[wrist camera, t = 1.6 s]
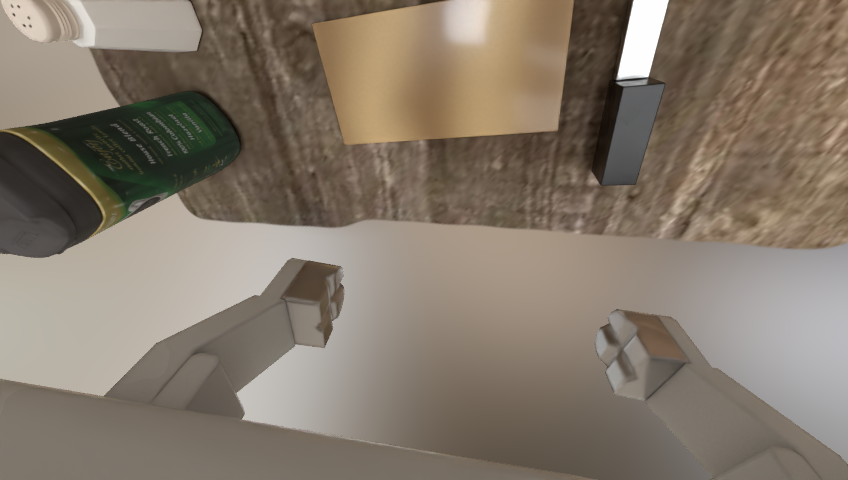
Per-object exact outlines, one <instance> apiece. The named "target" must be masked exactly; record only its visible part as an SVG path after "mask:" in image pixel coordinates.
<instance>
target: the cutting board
mask: <svg viewBox="0 0 848 480" xmlns="http://www.w3.org/2000/svg"><path fill="white" fill-rule="evenodd" d="M573 6H574V0H444V1H438V2H433V3H427V4H421V5H416V6H410V7H404V8H398V9H393V10H387V11H381V12H376V13H370V14H364V15H358V16H353V17H347V18H341V19H336V20H330V21H324V22H319V23H313V24H312V27H313V30H314V34H315V38H316V41H317V45H318V49H319V52H320V56H321V60H322V64H323V67H324V71H325V75H326V78H327V82H328V86H329V89H330V93H331V97H332V100H333V104H334V108H335V111H336V115H337V119H338V122H339V126H340V130H341V133H342V137H343V141H344V144H345V145H350V144H365V143H381V142H396V141H411V140H426V139H441V138H457V137H472V136H487V135H502V134H518V133H533V132H548V131H558V125H559V117H560V109H561V101H562V93H563V85H564V77H565V69H566V61H567V53H568V45H569V37H570V29H571V21H572V14H573Z"/></svg>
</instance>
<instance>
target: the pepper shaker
mask: <svg viewBox="0 0 848 480" xmlns="http://www.w3.org/2000/svg"><path fill="white" fill-rule="evenodd" d="M1 3H2V6H3V8H4V10H5V12H6V14H7V15H8V17H9V18H10V20H11V21H12V23H13V24H14V25H15V26H16V27H17V28H18V29H19V30H20V31H21V32H22V33H23V34H25V35H26V36H27V37H29V38H31V39H33V40H35V41H36V42H40V43H50V42H52V41H68V40H71V41H73V42H74V43H75V44H77V45H78V46H79V47H85V48H99V49H121V50H143V51H165V52H188V51H197V48H198V44H199V41H200V37H201V33H202V29H201V26H200V24H199V21H198V19H197V16H196V14H195V11H194V9H193V6H192V4H191V2H190V1H189V0H1Z"/></svg>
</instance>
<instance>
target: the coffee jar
mask: <svg viewBox="0 0 848 480" xmlns="http://www.w3.org/2000/svg"><path fill="white" fill-rule="evenodd" d="M239 151H240V143H239V139H238V136H237V134H236V132H235V131H234V129H233V127H232V125H231V124H230V122H229V121H228V119H227V118H226V116H225V115H224V114H223V113H222V112H221V111H220V110H219V109H218V108H217V107H216V106H215V105H214V104H213V103H212V102H211V101H209V100H208V99H207V98H205V97H204V96H202V95H200V94H199V93H196V92H191V91H187V92H181V93H176V94H172V95H168V96H163V97H159V98H155V99H151V100H147V101H143V102H139V103H134V104H130V105H126V106H121V107H117V108H113V109H108V110H103V111H99V112H94V113H90V114H86V115H81V116H77V117H72V118H68V119H63V120H59V121H54V122H50V123H45V124H39V125H32V126H25V127H18V128H10V129H4V130H0V253H2V254H14V255H19V256H25V257H34V258H43V257H49V256H52V255H54V254H61V253H63V252H64V251H65V250H66V249H67V248H70V247H72V246H74V245H76V244H79V243H81V242H83V241H85V240H87V239H89V238H90V237H92V236H94V235H96V234H98V233H100V232H102V231H103V230H105V229H107V228H109V227H111V226H113V225H115V224H117V223H119V222H121V221H123V220H124V219H126V218H128V217H130V216H132V215H134V214H136V213H138V212H140V211H142V210H144V209H146V208H148V207H150V206H152V205H154V204H156V203H158V202H160V201H161V200H164V199H166V198H167V197H169V196H171V195H173V194H175V193H177V192H179V191H181V190H183V189H185V188H187V187H189V186H191V185H193V184H195V183H197V182H199V181H201V180H203V179H205V178H207V177H209V176H211V175H213V174H215V173H217V172H218V171H220V170H222V169H223V168H225V167H226V166H228V165H229V164H230V163H231V162H232V161H233V160H234V159H235V158H236V157H237V155H238V154H239Z"/></svg>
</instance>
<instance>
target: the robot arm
mask: <svg viewBox="0 0 848 480" xmlns="http://www.w3.org/2000/svg"><path fill="white" fill-rule="evenodd" d="M342 278H343V268H342V267H341V266H336V265H330V264H325V263H319V262H314V261H306V260H300V259H295V258H292V259H290V260H288V261H287V262H286V263H285V265H284V266H283V267H282V268H281V270H280V271H279V272H278V274H277V275H276V276H275V277H274V279H273V280H272V281H271V283H270V284H269V285H268V286H267V288H266V289H265V291H264V292H263V293H262V294H261V295H260V296H257V295H254V296H252V297H250V298H248V299H246V300H244V301H242V302H240V303H238V304H236V305H234V306H232V307H230V308H228V309H226V310H224V311H222V312H219V313H217V314H215V315H213V316H211V317H209V318H207V319H205V320H203V321H201V322H199V323H197V324H195V325H193V326H191V327H189V328H187V329H185V330H183V331H181V332H178V333H176V334H175V335H172V336H170V337H168V338H166V339H164V340H162V341H160V342H158V343H156V344H155V345H154V346H153V347H152V348H151V349H150V350H149V351H148V352H147V353H146V354H145V355H144V356H143V357H142V358H141V359H140V360H139V361H138V362H137V363H136V364H135V365H134V366H133V367H132V368H131V369H130V370H129V371H128V372H127V373H126V374H125V375H124V376H123V377H122V378H121V379H120V380H119V381H118V382H117V383H116V384H115V385H114V386H113V387H112V388H111V390H109V391H108V392H107V393H106V395H104V396H98V395H92V394H86V393H80V392H74V391H69V390H62V389H56V388H51V387H45V386H39V385H32V384H27V383H21V382H15V381H9V380H3V379H0V480H598V479H591V478H585V477H580V476H574V475H568V474H562V473H556V472H550V471H544V470H538V469H532V468H526V467H521V466H515V465H509V464H503V463H497V462H490V461H485V460H479V459H473V458H467V457H461V456H455V455H449V454H444V453H438V452H432V451H426V450H420V449H413V448H408V447H402V446H396V445H390V444H384V443H378V442H372V441H366V440H360V439H354V438H348V437H342V436H336V435H330V434H325V433H319V432H313V431H306V430H301V429H295V428H289V427H283V426H276V425H271V424H265V423H259V422H253V421H247V420H242V418H243V416H244V414H245V413H244V409H243V406H242V404H241V402H240V400H239V398H238V396H237V394H236V393H237V392H238V391H239V390H241V389H242V388H243V387H244V386H245V385H247V384H248V383H249V382H250V381H252V380H253V379H254V378H255V377H257V376H258V375H259V374H261V373H262V372H263V371H264V370H266V369H267V368H268V367H269V366H271V365H272V364H273V363H274V362H276V361H277V360H278V359H279V358H280V357H282V356H283V355H284V354H285V353H287V352H288V351H289V350H291V349H292V348H293V347H294V346H295V344H298V345H306V346H313V347H321V348H324V347H325V345H326V343H327V341H328V339H329V336H330V334H331V332H332V329H333V326H332V321H333V320H334V319H336V318H337V317H338V316H339V314H340V311H341V308H342V305H343V300H344V287H343V285H342V284H341V283H340V282H341V280H342ZM608 321H609V324H607V325H605V326H603V327H601V328H600V329H599V331H598V333H597V334H596V338H595V348H596V352H597V355H598V357H599V359H600V360H601V361H602V362H603V363H604V364H605V365H606V366H607V369H606V371H605V374H606V376H607V378H608V381H609V383H610V385H611V388H612V390H613V393H614V395H618V396H623V397H628V398H633V399H639V400H644V401H646V402H645V403H646V404H647V405H648V406H649V407H650V408H651V410H652V411H653V412H654V413H655V414H656V415H657V416H658V417H659V418H660V419H661V421H662V422H663V423H664V424H665V425H666V426H667V427H668V428H669V429H670V430H671V432H673V434H674V435H675V436H676V437H677V438H678V439H679V440H680V441H681V443H682V444H684V446H685V447H686V448H687V449H688V450H689V451H690V452H691V454H692V455H693V456H694V457H695V458H696V459H697V460H698V461H699V462H700V463H701V465H702V466H703V467H704V468H705V469H706V470H707V471H708V472H709V473H710V474H711V475H712V477H713V478H711V479H710V480H848V464H847V463H846V462H845V461H844V460H843V459H842V458H841V456H840V455H838V454H837V453H835V452H834V451H832V450H831V449H830V448H828V447H827V446H826V445H824V444H823V443H821V442H820V441H819V440H817V439H816V438H814V437H813V436H811V435H810V434H809V433H807V432H806V431H805V430H803V429H801V428H800V427H799V426H798V425H796V424H794V423H793V422H792V421H791V420H789V419H788V418H786V417H785V416H784V415H782V414H781V413H779V412H778V411H777V410H775V409H774V408H772V407H771V406H770V405H768V404H767V403H765V402H764V401H762V400H761V399H760V398H758V397H757V396H755V395H754V394H753V393H751V392H750V391H748V390H747V389H746V388H744V387H743V386H741V385H740V384H739V383H737V382H736V381H734V380H733V379H732V378H730V377H729V376H728V375H726V374H725V373H723V372H722V371H721V370H719V369H717V368H712V367H711V366H710V364H709V363H708V362H707V360H706V359H705V358H704V357H703V355H702V354H701V352H700V351H699V350H698V348H697V347H696V346H695V344H694V343H693V342H692V340H691V339H690V338H689V336H688V335H687V334H686V333H685V331H684V330H683V329H682V327H681V326H680V325H679V323H678V322H677V321H676V320H674V319H673V318H672V317H668V316H660V315H654V314H645V313H639V312H632V311H625V310H618V309H617V310H615V311H612V312H611V314H610V315H609V316H608Z"/></svg>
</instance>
